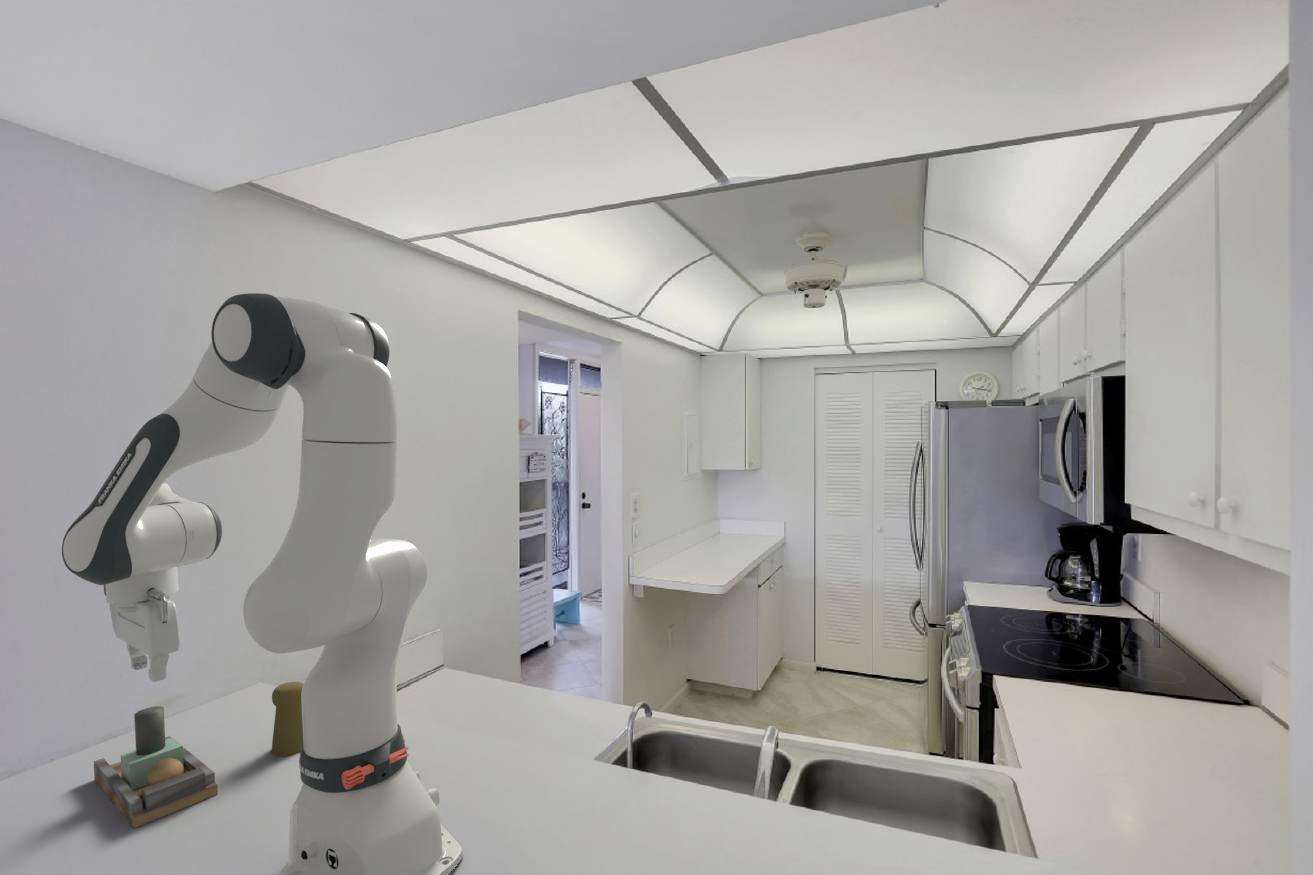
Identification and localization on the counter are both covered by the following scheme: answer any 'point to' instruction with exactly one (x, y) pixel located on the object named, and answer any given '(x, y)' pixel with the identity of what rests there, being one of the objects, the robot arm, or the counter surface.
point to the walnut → (164, 771)
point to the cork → (287, 719)
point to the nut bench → (159, 811)
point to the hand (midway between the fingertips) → (148, 673)
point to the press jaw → (148, 747)
